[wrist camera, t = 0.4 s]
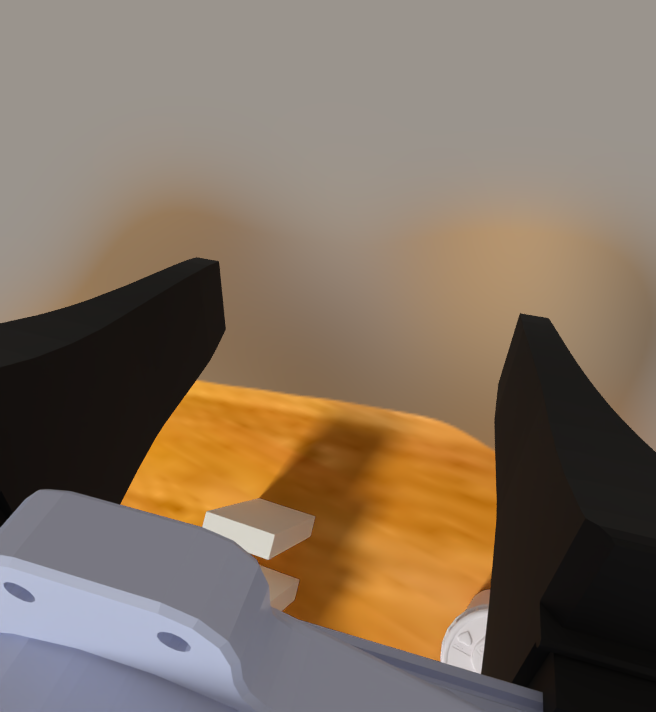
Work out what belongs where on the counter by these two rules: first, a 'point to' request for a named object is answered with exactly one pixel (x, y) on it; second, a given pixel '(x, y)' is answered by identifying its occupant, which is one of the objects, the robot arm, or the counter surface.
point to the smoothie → (467, 635)
